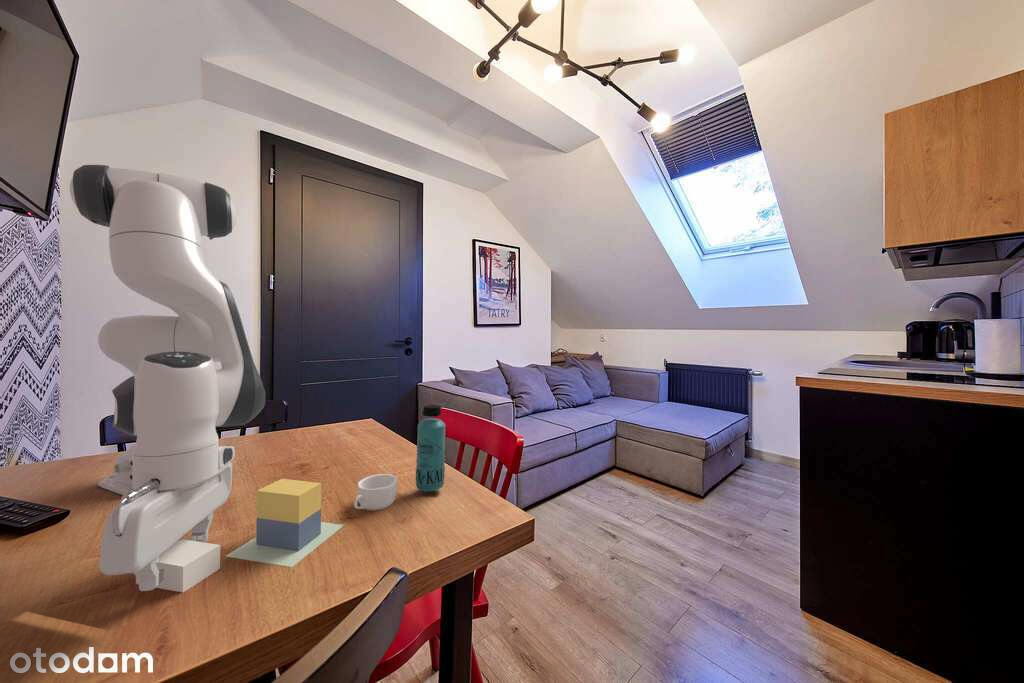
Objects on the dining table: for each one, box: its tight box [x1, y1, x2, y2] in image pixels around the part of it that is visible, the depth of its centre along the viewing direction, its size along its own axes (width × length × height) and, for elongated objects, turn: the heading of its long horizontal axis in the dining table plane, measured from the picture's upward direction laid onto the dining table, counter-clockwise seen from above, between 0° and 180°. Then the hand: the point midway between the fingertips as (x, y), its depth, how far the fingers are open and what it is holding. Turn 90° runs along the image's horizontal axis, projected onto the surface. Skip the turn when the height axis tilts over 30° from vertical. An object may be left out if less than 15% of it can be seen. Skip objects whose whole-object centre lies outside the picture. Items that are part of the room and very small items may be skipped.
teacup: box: [353, 473, 398, 511], centre depth 72 cm, size 10×8×5 cm
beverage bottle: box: [415, 404, 446, 492], centre depth 81 cm, size 6×7×20 cm
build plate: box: [225, 521, 345, 568], centre depth 60 cm, size 12×12×1 cm
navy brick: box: [255, 508, 322, 551], centre depth 60 cm, size 8×5×4 cm, turn 80°
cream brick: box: [135, 538, 221, 593], centre depth 50 cm, size 8×5×4 cm, turn 80°
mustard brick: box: [256, 478, 322, 524], centre depth 60 cm, size 8×5×4 cm, turn 80°
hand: (177, 563), depth 50 cm, fingers open, 8 cm apart
